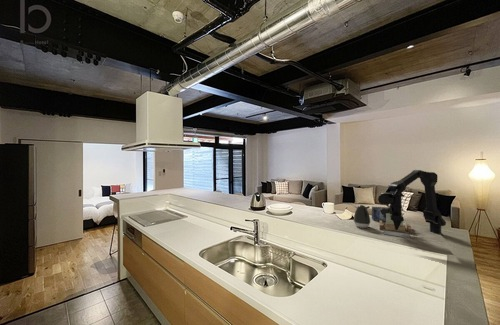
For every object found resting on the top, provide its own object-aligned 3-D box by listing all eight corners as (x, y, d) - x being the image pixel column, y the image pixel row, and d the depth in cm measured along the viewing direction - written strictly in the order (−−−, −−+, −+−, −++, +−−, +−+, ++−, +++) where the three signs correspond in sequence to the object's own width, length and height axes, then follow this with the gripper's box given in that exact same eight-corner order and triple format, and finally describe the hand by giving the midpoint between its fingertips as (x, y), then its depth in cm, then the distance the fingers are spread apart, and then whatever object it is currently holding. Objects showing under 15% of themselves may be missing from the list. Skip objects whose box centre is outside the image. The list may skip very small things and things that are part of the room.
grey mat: (383, 231, 135) (383, 230, 135) (408, 235, 128) (408, 234, 128) (383, 234, 129) (383, 233, 129) (410, 238, 122) (410, 237, 122)
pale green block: (386, 226, 146) (386, 212, 146) (402, 228, 141) (402, 213, 141) (386, 227, 143) (386, 213, 143) (402, 229, 138) (402, 214, 138)
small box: (373, 221, 157) (373, 207, 157) (371, 219, 164) (371, 206, 164) (389, 223, 154) (389, 208, 154) (386, 220, 160) (386, 207, 160)
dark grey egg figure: (373, 229, 140) (373, 206, 140) (358, 229, 140) (358, 206, 140) (365, 224, 150) (365, 203, 150) (351, 224, 150) (351, 203, 150)
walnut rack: (379, 224, 151) (379, 220, 151) (409, 228, 142) (409, 223, 142) (379, 230, 138) (379, 225, 138) (412, 234, 129) (412, 229, 129)
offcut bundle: (385, 229, 139) (385, 223, 139) (405, 232, 134) (405, 225, 134) (385, 230, 138) (385, 223, 138) (405, 233, 132) (405, 226, 132)
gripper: (380, 200, 141) (380, 223, 141) (380, 205, 125) (380, 231, 125) (400, 201, 135) (400, 225, 135) (403, 207, 119) (403, 234, 119)
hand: (396, 229), depth 129 cm, fingers open, 3 cm apart
